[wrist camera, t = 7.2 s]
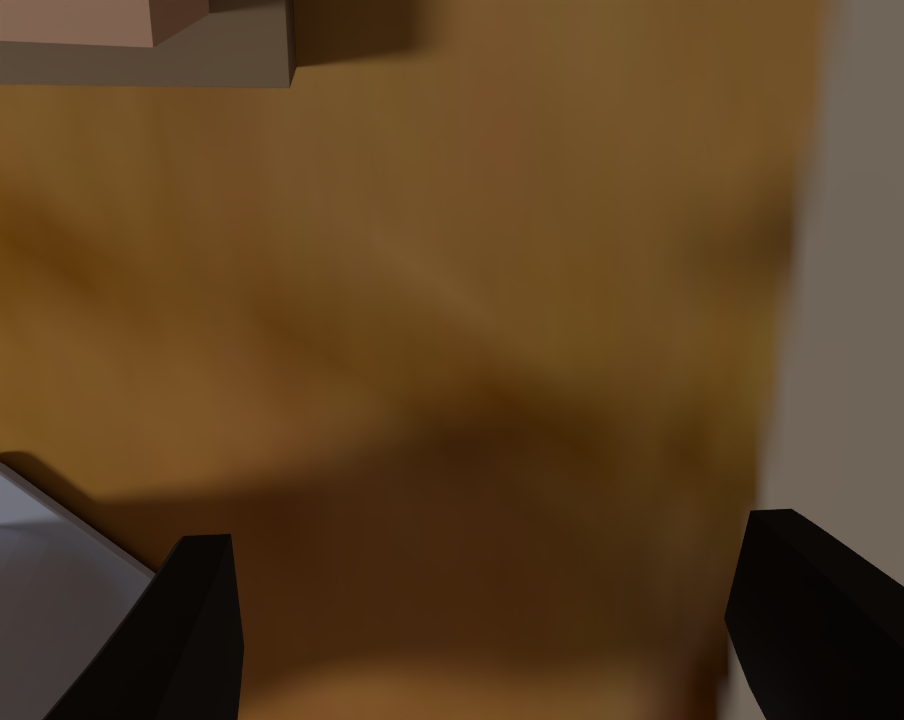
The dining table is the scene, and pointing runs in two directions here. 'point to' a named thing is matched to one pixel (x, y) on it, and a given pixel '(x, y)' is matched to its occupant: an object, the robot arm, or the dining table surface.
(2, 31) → the terracotta cube
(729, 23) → the dining table surface
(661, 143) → the dining table surface
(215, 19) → the walnut slab
